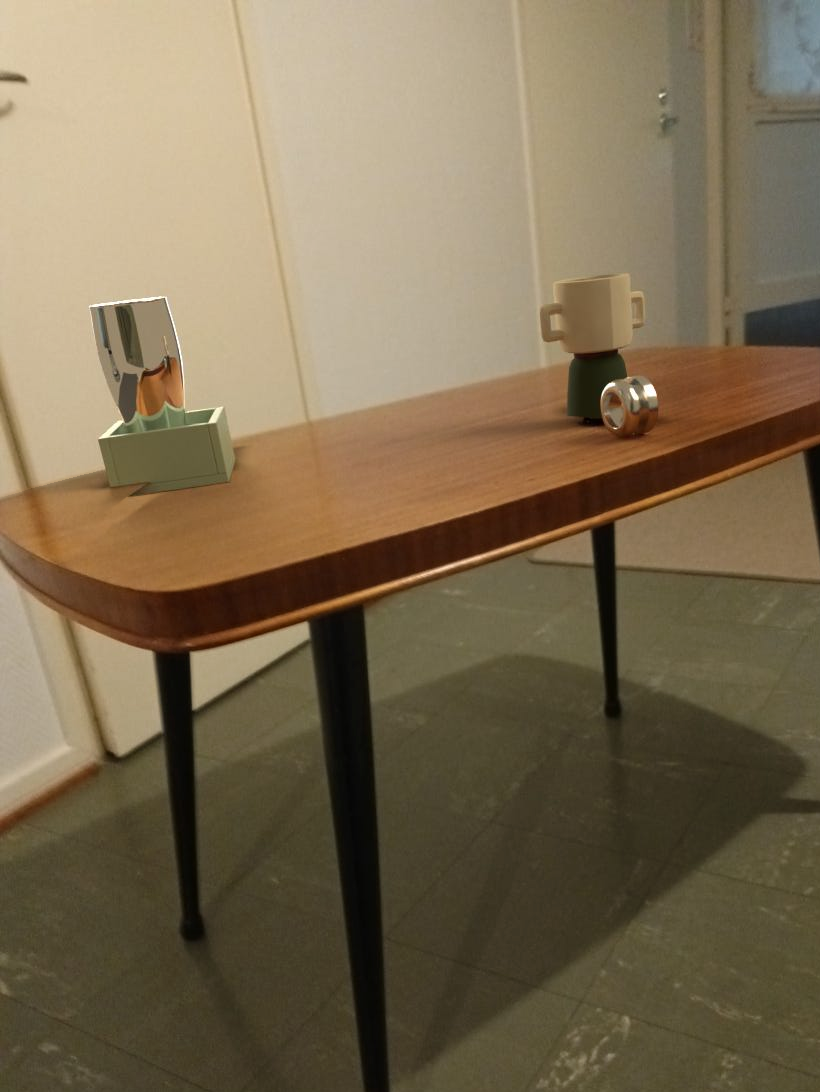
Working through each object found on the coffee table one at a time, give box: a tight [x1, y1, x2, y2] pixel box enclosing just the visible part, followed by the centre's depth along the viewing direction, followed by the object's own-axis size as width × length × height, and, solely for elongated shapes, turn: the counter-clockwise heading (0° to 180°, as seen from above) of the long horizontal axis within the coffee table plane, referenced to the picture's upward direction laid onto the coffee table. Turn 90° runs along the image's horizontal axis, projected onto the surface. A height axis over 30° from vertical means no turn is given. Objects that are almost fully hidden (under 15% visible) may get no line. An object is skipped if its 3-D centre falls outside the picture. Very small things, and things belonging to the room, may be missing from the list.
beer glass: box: [88, 296, 187, 434], centre depth 88 cm, size 7×7×15 cm
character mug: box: [539, 273, 647, 423], centre depth 93 cm, size 11×7×13 cm, turn 112°
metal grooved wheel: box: [600, 374, 659, 438], centre depth 86 cm, size 5×3×5 cm, turn 27°
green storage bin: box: [97, 406, 236, 498], centre depth 90 cm, size 10×10×5 cm
